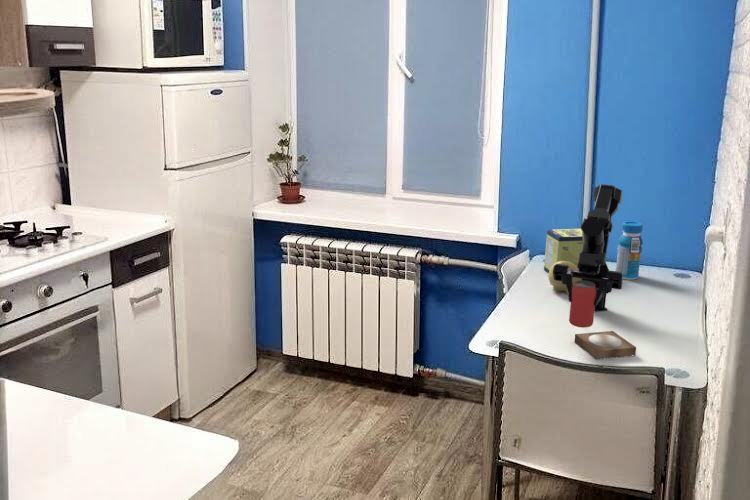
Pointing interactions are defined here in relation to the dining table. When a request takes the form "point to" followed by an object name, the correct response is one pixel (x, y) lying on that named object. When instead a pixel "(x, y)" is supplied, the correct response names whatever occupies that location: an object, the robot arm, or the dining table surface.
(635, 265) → the beverage bottle
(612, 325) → the dining table surface
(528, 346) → the dining table surface
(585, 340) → the plinth
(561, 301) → the dining table surface
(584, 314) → the beer can
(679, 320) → the dining table surface
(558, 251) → the protein box
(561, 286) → the toy pig
